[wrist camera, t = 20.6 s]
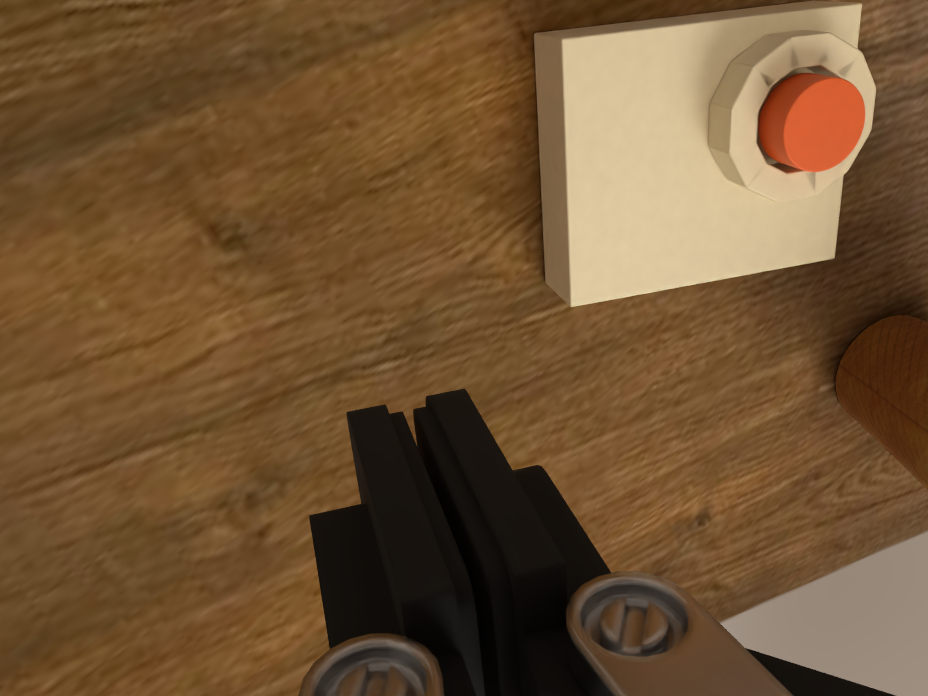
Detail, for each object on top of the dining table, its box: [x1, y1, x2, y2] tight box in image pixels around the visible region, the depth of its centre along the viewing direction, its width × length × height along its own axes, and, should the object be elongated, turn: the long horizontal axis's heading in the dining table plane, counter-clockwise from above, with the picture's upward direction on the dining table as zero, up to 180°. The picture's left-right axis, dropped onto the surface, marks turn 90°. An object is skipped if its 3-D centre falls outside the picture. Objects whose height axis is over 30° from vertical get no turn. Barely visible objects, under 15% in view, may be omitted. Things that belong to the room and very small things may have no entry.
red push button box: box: [534, 1, 876, 307], centre depth 36 cm, size 11×13×5 cm
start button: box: [759, 73, 865, 172], centre depth 33 cm, size 4×4×2 cm
